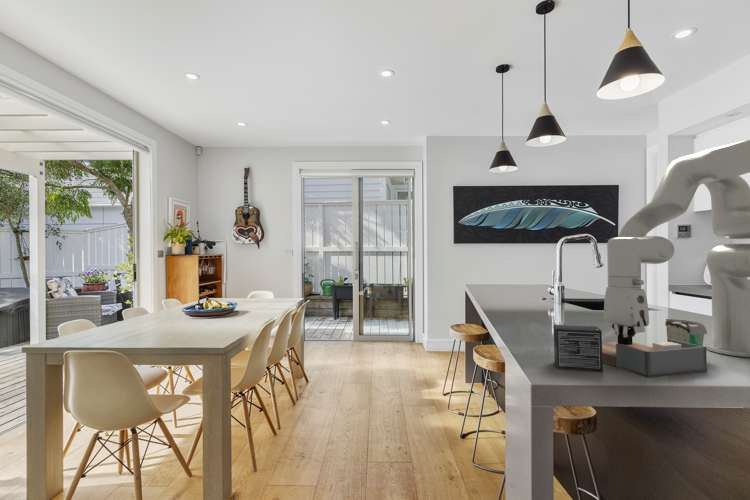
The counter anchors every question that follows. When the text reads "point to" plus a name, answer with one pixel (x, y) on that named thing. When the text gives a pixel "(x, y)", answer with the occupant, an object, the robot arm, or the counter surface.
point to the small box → (578, 348)
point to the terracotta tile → (638, 347)
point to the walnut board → (613, 352)
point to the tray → (662, 360)
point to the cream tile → (665, 346)
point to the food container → (685, 331)
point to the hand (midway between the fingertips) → (625, 350)
